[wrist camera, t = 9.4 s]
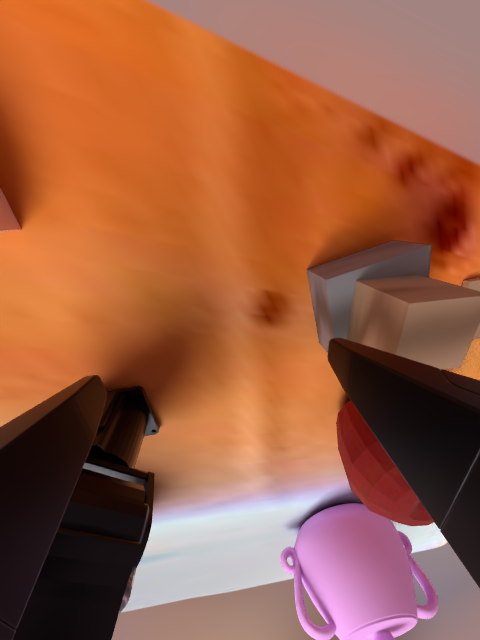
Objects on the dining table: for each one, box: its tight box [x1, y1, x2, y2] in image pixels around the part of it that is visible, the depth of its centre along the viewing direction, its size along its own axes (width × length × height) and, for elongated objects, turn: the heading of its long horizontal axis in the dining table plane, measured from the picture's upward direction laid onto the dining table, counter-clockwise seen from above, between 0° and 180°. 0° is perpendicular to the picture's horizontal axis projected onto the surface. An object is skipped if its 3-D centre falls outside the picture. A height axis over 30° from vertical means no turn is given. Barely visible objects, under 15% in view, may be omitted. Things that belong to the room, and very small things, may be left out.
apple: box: [336, 400, 434, 526], centre depth 22 cm, size 11×11×12 cm
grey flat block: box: [307, 240, 431, 352], centre depth 20 cm, size 8×8×4 cm
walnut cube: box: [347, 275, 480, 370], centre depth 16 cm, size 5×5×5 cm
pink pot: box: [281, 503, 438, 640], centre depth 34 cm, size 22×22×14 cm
